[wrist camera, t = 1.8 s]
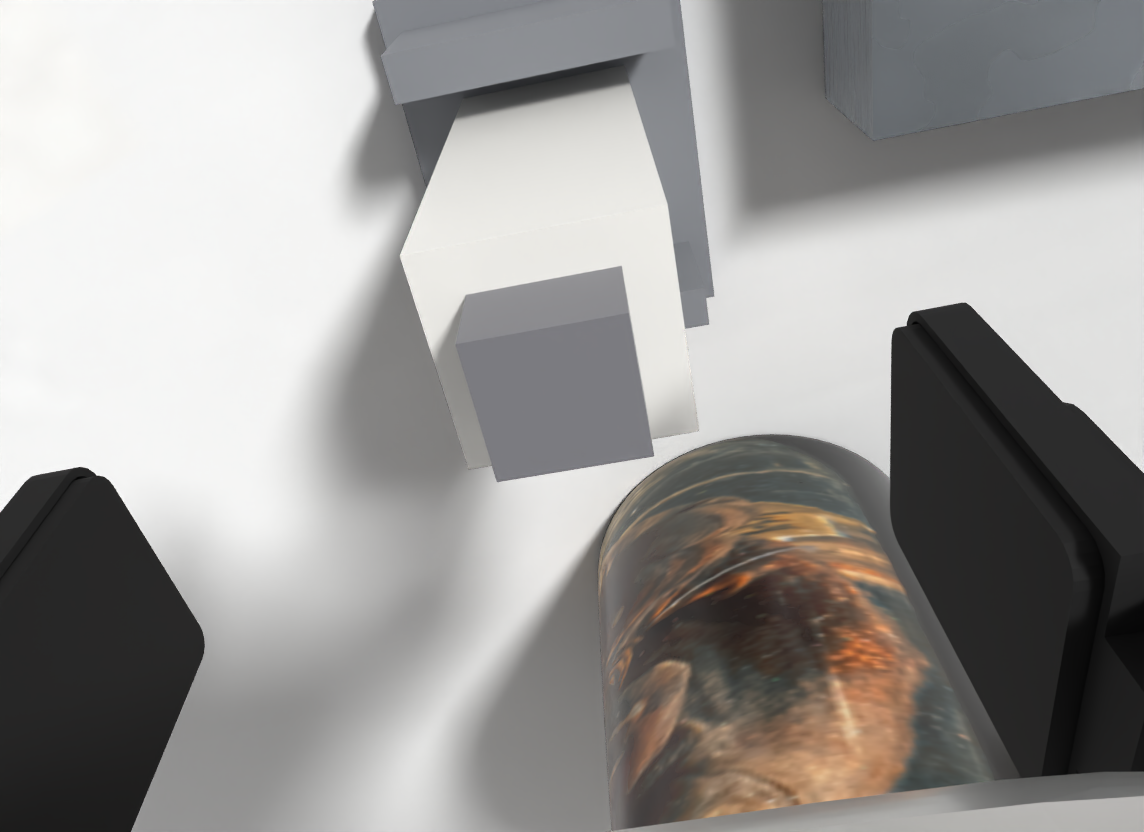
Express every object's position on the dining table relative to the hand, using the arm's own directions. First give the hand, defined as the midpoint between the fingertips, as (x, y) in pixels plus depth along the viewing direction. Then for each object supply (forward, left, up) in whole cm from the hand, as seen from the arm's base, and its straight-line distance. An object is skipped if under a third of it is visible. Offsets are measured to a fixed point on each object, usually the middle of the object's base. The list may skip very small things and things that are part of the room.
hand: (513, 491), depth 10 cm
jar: (-16, -5, -15) cm, 23 cm away
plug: (0, -1, -14) cm, 14 cm away
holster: (0, -1, -15) cm, 15 cm away
